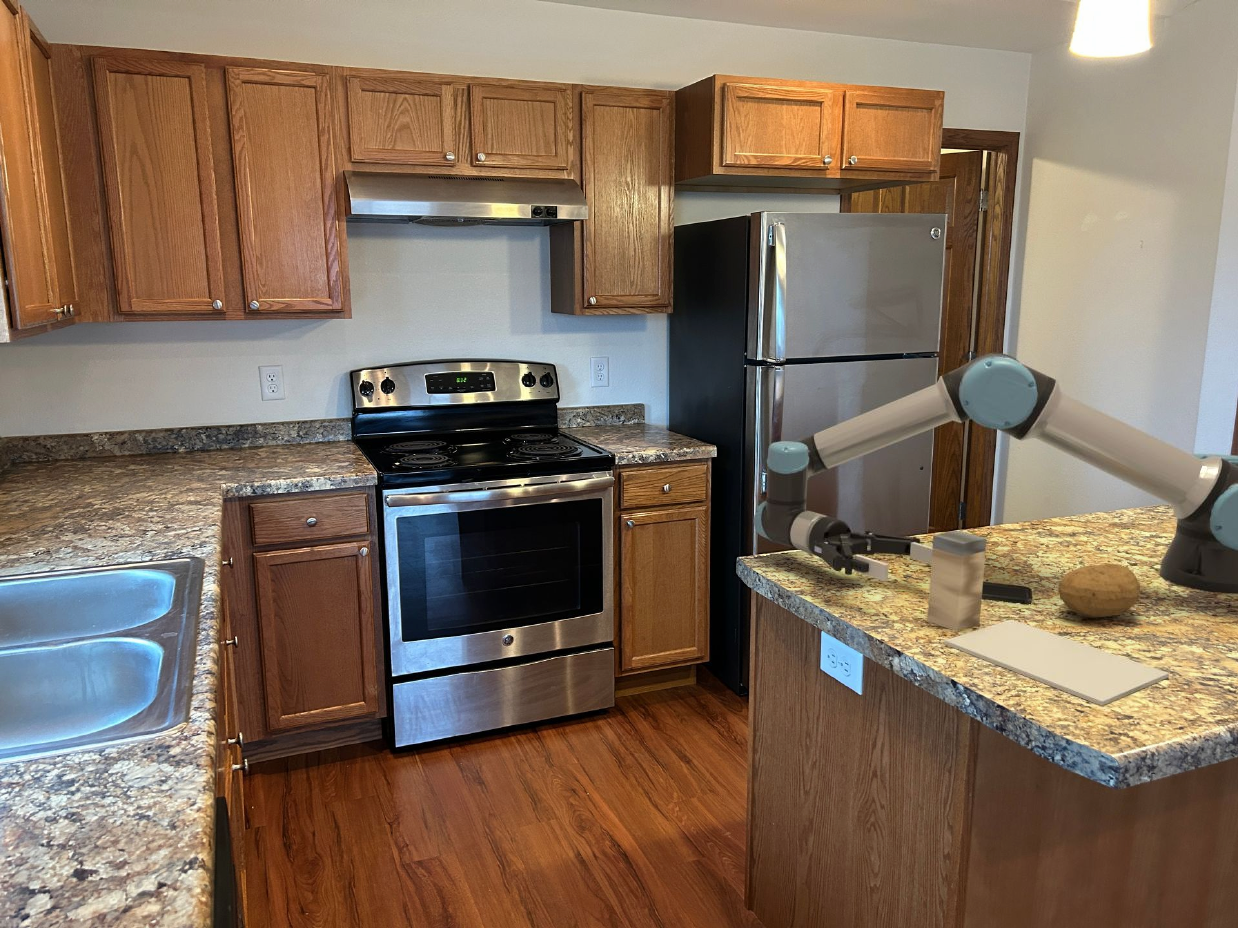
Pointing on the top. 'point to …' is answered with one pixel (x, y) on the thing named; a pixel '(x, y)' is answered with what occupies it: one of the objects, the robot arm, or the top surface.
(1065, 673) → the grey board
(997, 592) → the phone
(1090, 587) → the potato
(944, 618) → the maple block
